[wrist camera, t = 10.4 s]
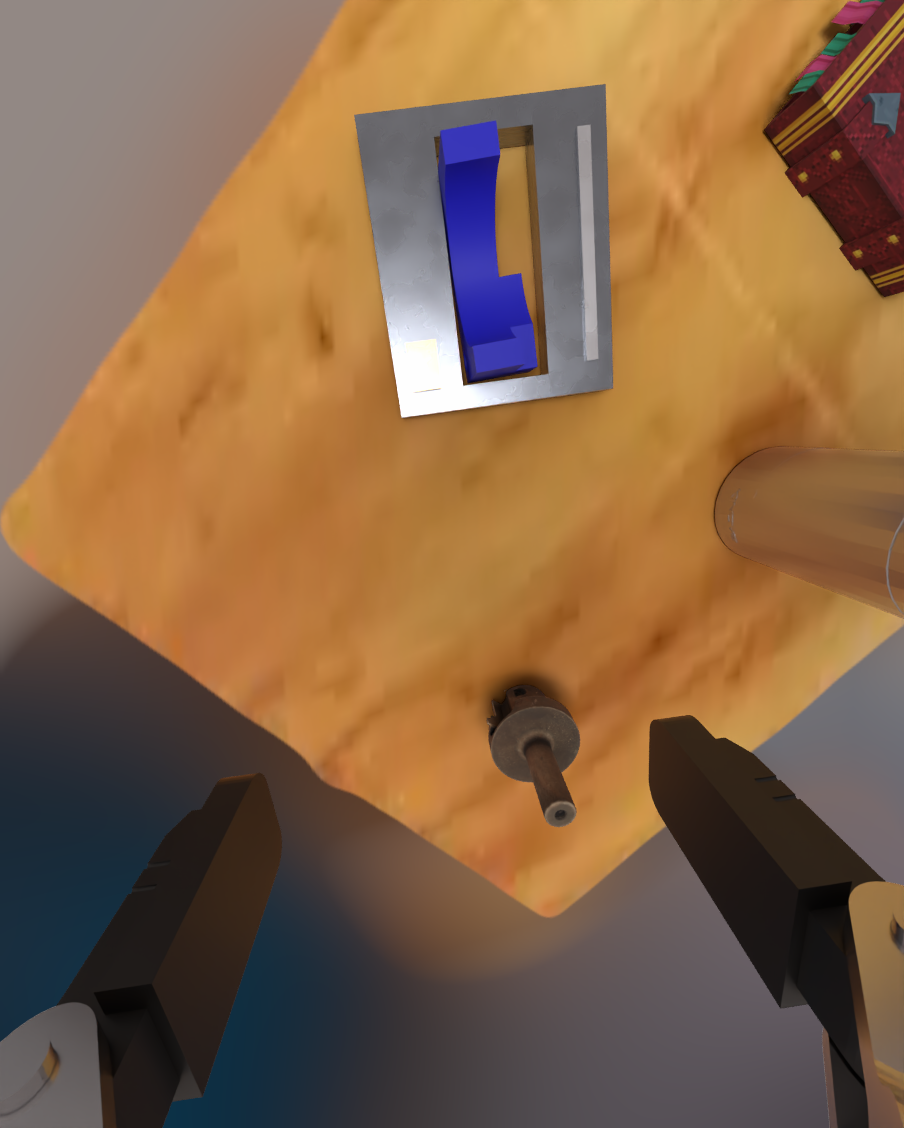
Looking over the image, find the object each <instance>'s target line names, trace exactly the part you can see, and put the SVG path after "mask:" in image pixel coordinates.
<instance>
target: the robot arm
mask: <svg viewBox="0 0 904 1128" xmlns="http://www.w3.org/2000/svg"><path fill="white" fill-rule="evenodd" d="M715 524H716V527H717V530H718V534H719V536H720V537H721V539H722V541H723V542H724V544H725V545H726V546H727V547H728V548H729V549H730V550H732V551H733V552H735V553H737V554H739V555H741V556H743V557H746V558H748V559H751V560H753V561H756V562H759V563H761V564H764V565H766V566H769V567H772V568H774V569H776V570H779V571H781V572H784V573H787V574H789V575H792V576H794V577H797V578H800V579H802V580H805V581H807V582H810V583H813V584H815V585H818V586H820V587H823V588H826V589H828V590H831V591H833V592H836V593H839V594H841V595H844V596H846V597H849V598H852V599H854V600H857V601H859V602H862V603H865V604H867V605H870V606H872V607H875V608H878V609H880V610H883V611H885V612H888V613H891V614H893V615H896V616H899V617H901V618H904V451H886V450H859V449H832V448H810V447H783V446H780V447H772V448H767V449H764V450H761V451H759V452H756V453H754V454H753V455H751V456H749V457H748V458H746V459H745V460H743V461H742V462H741V463H740V464H739V465H737V466H736V467H735V468H734V470H733V471H732V472H731V473H730V474H729V476H728V477H727V478H726V480H725V482H724V484H723V485H722V487H721V489H720V492H719V495H718V498H717V501H716V507H715ZM649 786H650V791H651V795H652V799H653V801H654V804H655V806H656V809H657V811H658V813H659V814H660V816H661V818H662V819H663V821H664V822H665V824H666V826H667V827H668V829H669V830H670V832H671V834H672V835H673V837H674V839H675V840H676V842H677V843H678V845H679V847H680V848H681V850H682V851H683V853H684V854H685V856H686V858H687V859H688V861H689V863H690V864H691V866H692V867H693V869H694V871H695V872H696V874H697V875H698V877H699V879H700V880H701V882H702V883H703V885H704V886H705V888H706V890H707V892H708V893H709V895H710V896H711V898H712V900H713V901H714V903H715V904H716V906H717V907H718V909H719V911H720V912H721V914H722V915H723V917H724V919H725V920H726V922H727V924H728V925H729V927H730V928H731V930H732V932H733V933H734V935H735V936H736V938H737V940H738V941H739V943H740V944H741V946H742V948H743V949H744V951H745V952H746V954H747V956H748V957H749V959H750V961H751V962H752V964H753V965H754V967H755V969H756V970H757V972H758V973H759V975H760V977H761V978H762V980H763V981H764V983H765V985H766V986H767V988H768V989H769V991H770V993H771V994H772V996H773V997H774V999H775V1001H776V1002H777V1004H778V1005H779V1007H780V1008H787V1007H794V1006H800V1005H806V1004H808V1005H809V1006H810V1007H811V1009H812V1010H813V1012H814V1013H815V1015H816V1016H817V1018H818V1019H819V1021H820V1022H821V1024H822V1025H823V1032H822V1046H823V1058H824V1069H825V1080H826V1091H827V1102H828V1114H829V1125H830V1128H904V886H903V885H899V884H894V883H889V882H886V881H885V880H883V878H881V877H880V876H879V875H878V874H877V873H876V872H875V871H874V870H873V869H872V868H871V867H870V866H869V865H868V864H867V863H866V862H865V861H864V860H863V859H862V858H861V857H859V856H858V855H857V854H856V853H855V852H854V851H853V850H852V849H851V848H850V847H849V846H848V845H847V844H846V843H845V842H844V841H843V840H842V839H841V838H840V837H839V836H838V835H837V834H836V833H835V832H834V831H833V830H832V829H831V828H829V827H828V826H827V825H826V824H825V823H824V822H823V821H822V820H821V819H820V818H819V817H818V816H817V815H816V814H815V813H814V812H813V811H812V810H811V809H810V808H809V807H808V806H807V805H806V804H805V803H804V802H803V801H801V799H797V798H796V796H795V794H794V793H793V792H792V791H791V790H790V789H789V788H788V787H787V786H786V785H785V784H784V783H783V782H782V781H781V780H777V778H776V775H775V774H774V773H773V772H772V771H770V770H769V768H767V767H766V766H765V765H764V764H763V763H762V762H761V761H760V760H759V759H758V758H757V757H756V756H755V755H754V754H753V753H751V752H749V751H747V750H746V749H744V748H742V747H740V746H739V745H737V744H735V743H734V742H732V741H730V740H728V739H727V738H719V739H715V738H714V737H713V736H712V735H711V734H710V733H709V732H708V731H707V729H706V728H705V727H704V726H703V725H702V724H701V723H700V722H699V721H698V720H697V719H696V718H694V717H693V716H691V715H686V716H679V717H672V718H664V719H657V720H653V721H652V722H651V725H650V742H649ZM281 838H282V837H281V830H280V827H279V823H278V820H277V816H276V813H275V809H274V805H273V802H272V799H271V795H270V791H269V788H268V784H267V781H266V779H265V777H264V775H263V774H261V773H256V774H249V775H241V776H234V777H227V778H222V779H220V780H219V781H218V782H217V784H216V785H215V787H214V788H213V790H212V792H211V793H210V795H209V797H208V799H207V800H206V802H205V804H204V805H203V807H202V809H200V810H193V811H191V812H189V813H188V814H187V815H186V817H184V818H183V819H182V820H181V821H180V822H179V823H178V824H177V825H176V826H175V827H174V828H173V829H172V830H171V831H170V832H169V833H168V834H167V835H166V836H165V838H164V839H163V840H162V842H161V844H160V845H159V847H158V848H157V850H156V851H155V853H154V855H153V856H152V858H151V859H150V861H149V862H148V868H147V869H144V870H143V872H142V873H141V875H140V876H139V878H138V880H137V881H136V883H135V884H134V886H133V887H132V893H131V894H128V895H127V897H126V898H125V900H124V901H123V903H122V905H121V906H120V908H119V910H118V911H117V913H116V914H115V916H114V917H113V919H112V920H111V922H110V924H109V925H108V927H107V928H106V930H105V931H104V933H103V934H102V936H101V938H100V939H99V941H98V942H97V944H96V946H95V947H94V949H93V950H92V952H91V953H90V955H89V956H88V958H87V960H86V961H85V963H84V964H83V966H82V967H81V969H80V970H79V972H78V973H77V975H76V977H75V978H74V980H73V981H72V983H71V984H70V986H69V988H68V989H67V991H66V993H65V994H64V995H63V997H62V998H61V1000H60V1001H59V1003H58V1004H57V1005H56V1007H53V1008H50V1009H48V1010H46V1011H44V1012H42V1013H40V1014H39V1015H37V1016H35V1017H33V1018H32V1019H30V1020H28V1021H27V1022H25V1023H24V1024H23V1025H22V1026H20V1027H19V1028H17V1029H16V1030H14V1031H13V1032H12V1033H11V1034H10V1035H9V1036H7V1037H6V1038H5V1039H4V1040H3V1041H2V1042H0V1128H162V1127H163V1125H164V1122H165V1119H166V1117H167V1114H168V1111H169V1108H170V1106H171V1103H172V1102H173V1101H179V1100H185V1099H192V1098H198V1097H203V1094H204V1091H205V1088H206V1085H207V1082H208V1079H209V1076H210V1073H211V1070H212V1067H213V1063H214V1061H215V1057H216V1055H217V1052H218V1049H219V1046H220V1043H221V1040H222V1037H223V1033H224V1031H225V1027H226V1025H227V1022H228V1018H229V1015H230V1012H231V1009H232V1006H233V1003H234V1000H235V997H236V994H237V991H238V988H239V985H240V982H241V979H242V976H243V973H244V970H245V967H246V964H247V961H248V958H249V955H250V952H251V949H252V946H253V943H254V940H255V937H256V934H257V931H258V928H259V925H260V922H261V919H262V916H263V913H264V910H265V907H266V904H267V901H268V897H269V895H270V892H271V889H272V886H273V883H274V880H275V877H276V873H277V871H278V867H279V863H280V858H281V850H282V839H281Z"/></svg>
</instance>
